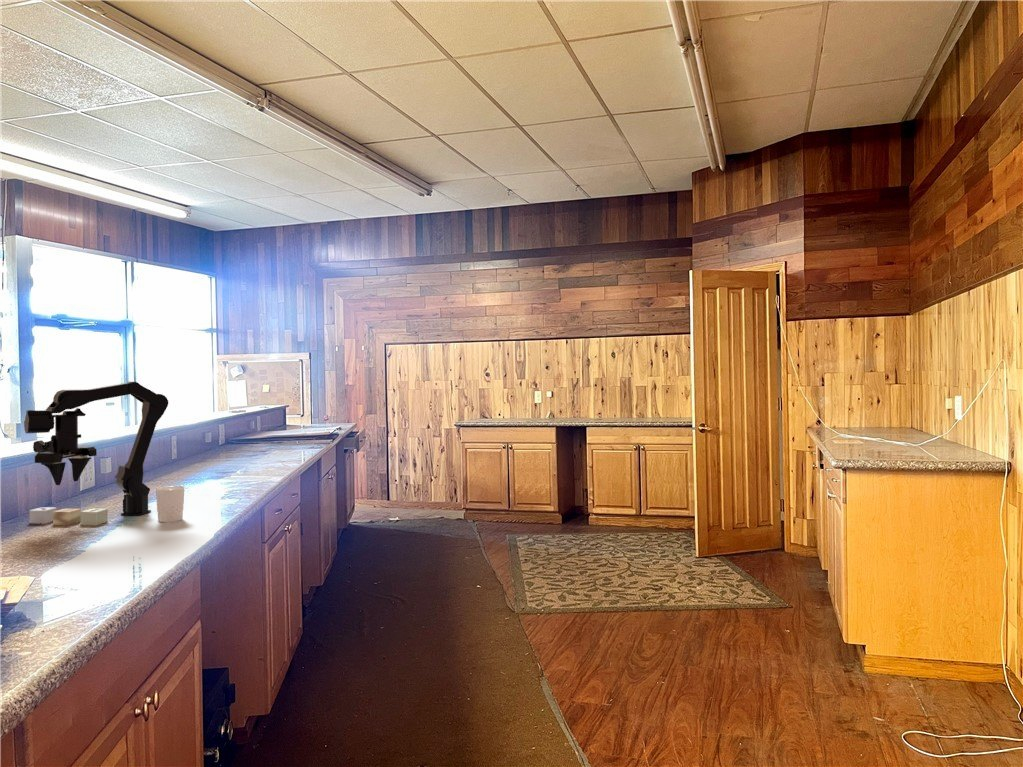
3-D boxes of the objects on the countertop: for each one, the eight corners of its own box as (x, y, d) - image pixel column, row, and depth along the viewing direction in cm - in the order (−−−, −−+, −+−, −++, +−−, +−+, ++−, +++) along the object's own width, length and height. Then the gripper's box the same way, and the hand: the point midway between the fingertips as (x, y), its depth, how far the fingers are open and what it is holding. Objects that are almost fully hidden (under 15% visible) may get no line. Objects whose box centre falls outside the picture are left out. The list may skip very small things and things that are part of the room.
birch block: (80, 521, 213) (80, 508, 213) (68, 525, 208) (68, 512, 208) (65, 521, 213) (65, 508, 213) (53, 525, 208) (53, 511, 208)
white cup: (150, 521, 214) (150, 488, 214) (173, 516, 221) (173, 484, 221) (167, 523, 210) (167, 491, 210) (190, 519, 217) (190, 487, 217)
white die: (57, 520, 214) (57, 507, 214) (45, 524, 209) (44, 510, 209) (42, 520, 215) (42, 506, 215) (29, 523, 210) (29, 510, 210)
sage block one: (107, 521, 213) (107, 508, 213) (96, 525, 208) (96, 512, 208) (92, 521, 213) (92, 508, 213) (80, 525, 208) (80, 511, 208)
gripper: (64, 428, 220) (65, 477, 221) (16, 433, 202) (17, 487, 202) (97, 429, 219) (97, 478, 219) (52, 434, 200) (52, 488, 201)
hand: (66, 483), depth 210 cm, fingers open, 7 cm apart
